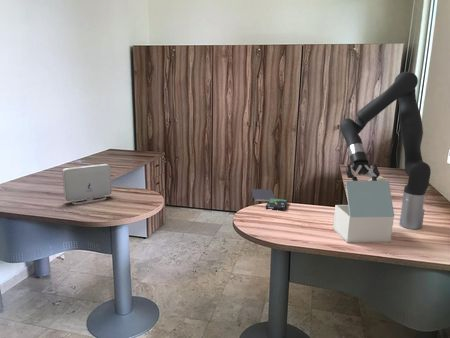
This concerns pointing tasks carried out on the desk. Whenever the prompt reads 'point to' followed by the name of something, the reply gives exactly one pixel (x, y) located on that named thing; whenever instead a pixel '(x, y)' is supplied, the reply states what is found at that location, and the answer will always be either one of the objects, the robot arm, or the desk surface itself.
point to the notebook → (262, 194)
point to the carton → (361, 227)
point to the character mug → (378, 179)
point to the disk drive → (276, 204)
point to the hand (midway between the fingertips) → (366, 185)
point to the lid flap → (369, 199)
